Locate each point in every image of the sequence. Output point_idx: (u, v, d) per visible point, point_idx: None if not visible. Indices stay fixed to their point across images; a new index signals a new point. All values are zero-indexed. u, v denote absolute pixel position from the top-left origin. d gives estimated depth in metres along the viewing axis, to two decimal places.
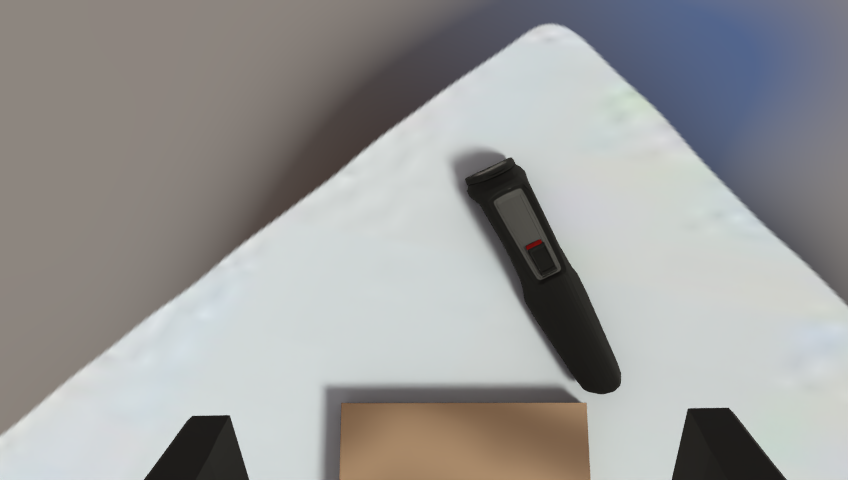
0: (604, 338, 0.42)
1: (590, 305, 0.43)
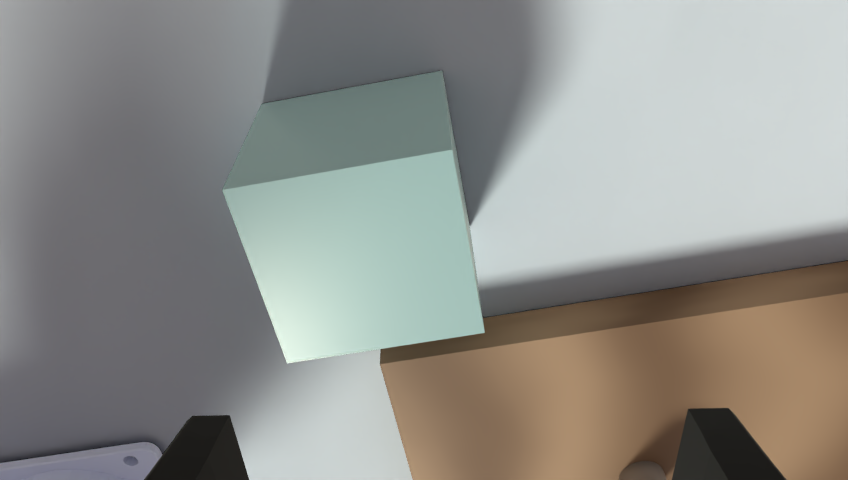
0: None
1: None
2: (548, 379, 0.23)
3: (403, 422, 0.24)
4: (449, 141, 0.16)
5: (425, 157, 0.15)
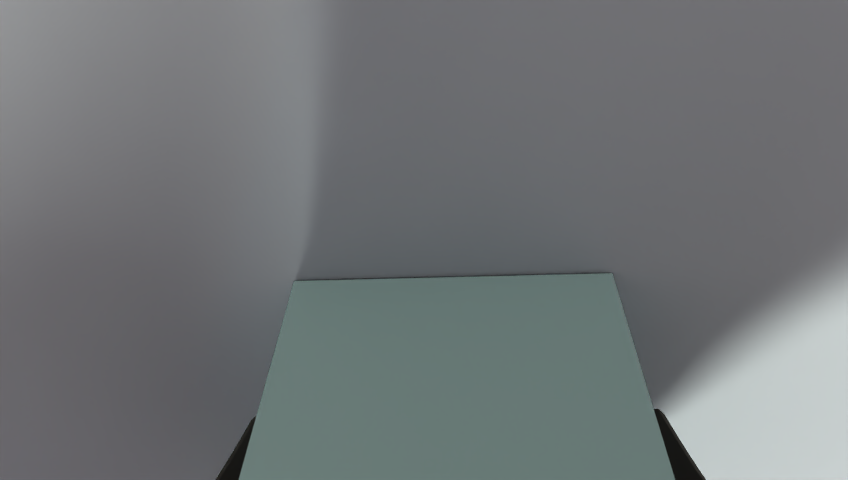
0: None
1: None
2: None
3: None
4: None
5: None
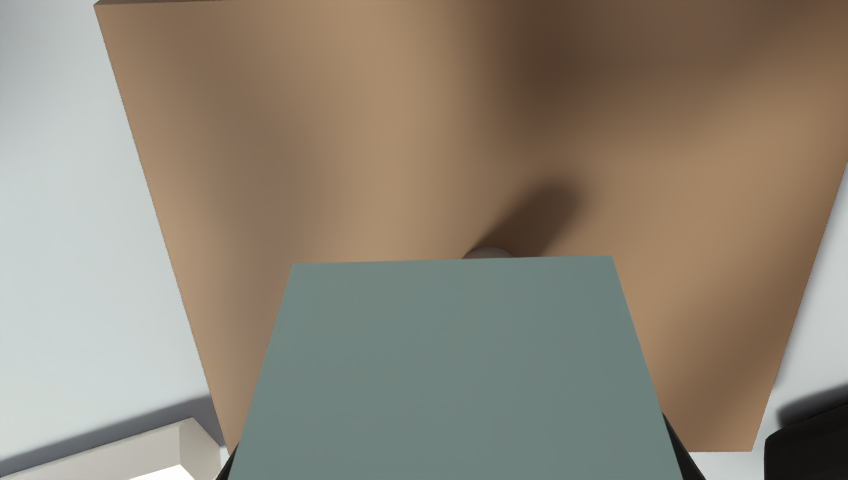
0: None
1: None
2: (355, 77, 0.15)
3: (139, 124, 0.16)
4: None
5: None
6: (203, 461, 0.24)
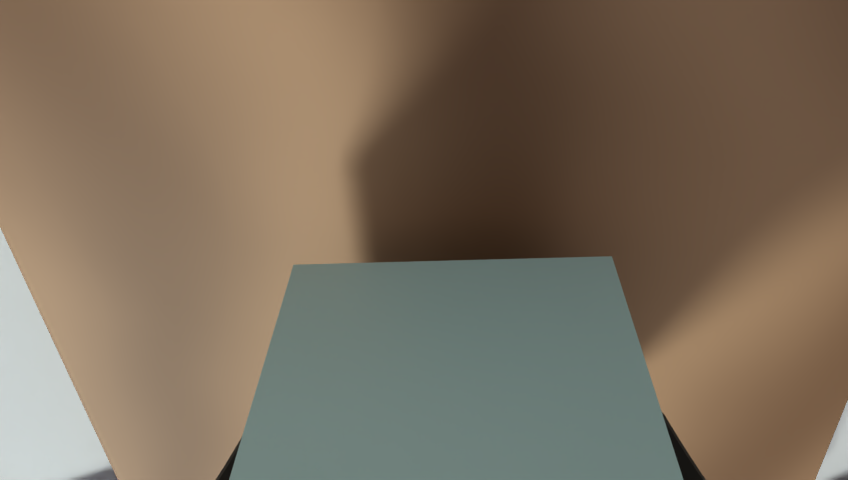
0: None
1: None
2: (260, 78, 0.11)
3: None
4: None
5: None
6: None
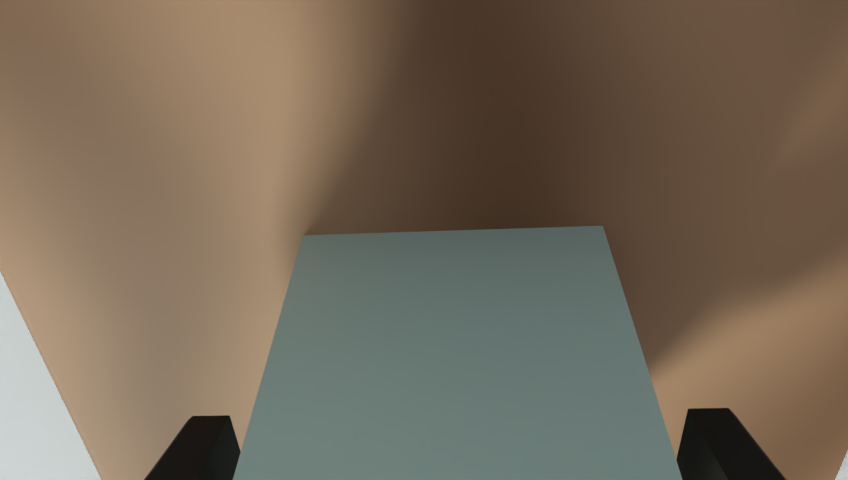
0: None
1: None
2: (254, 91, 0.11)
3: None
4: (670, 451, 0.08)
5: None
6: None
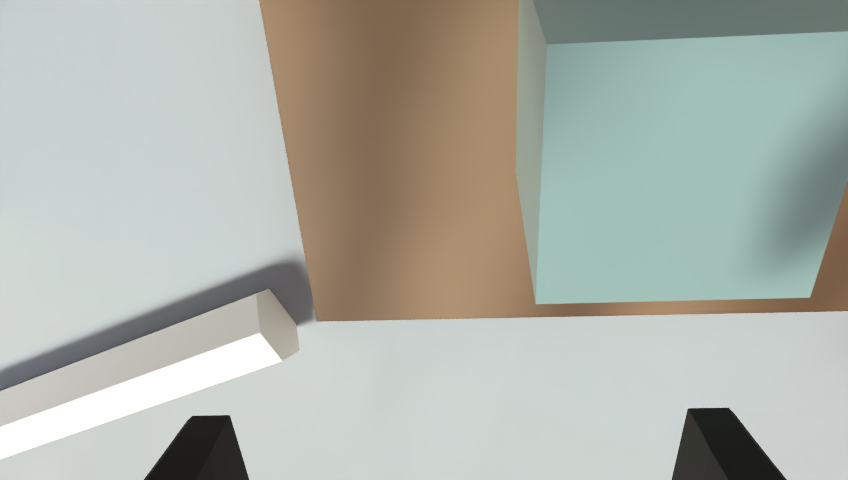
0: None
1: None
2: None
3: None
4: None
5: None
6: (282, 335, 0.22)
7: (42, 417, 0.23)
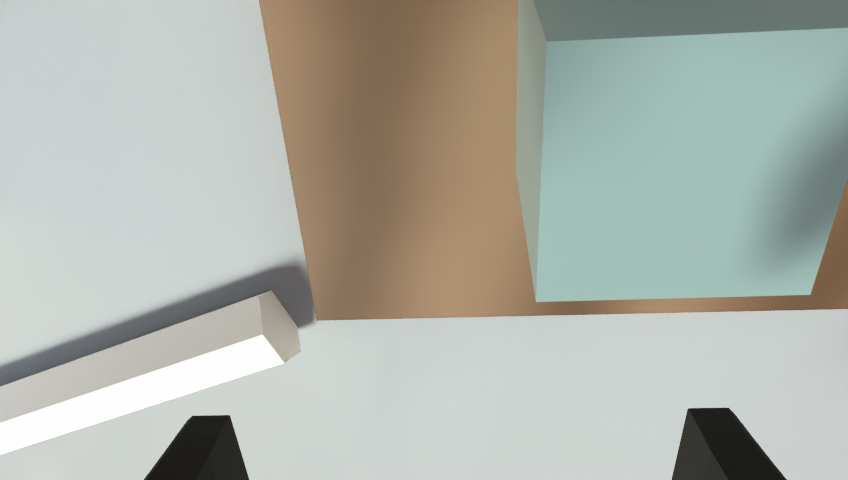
0: None
1: None
2: None
3: None
4: None
5: None
6: (284, 337, 0.22)
7: (41, 414, 0.23)
